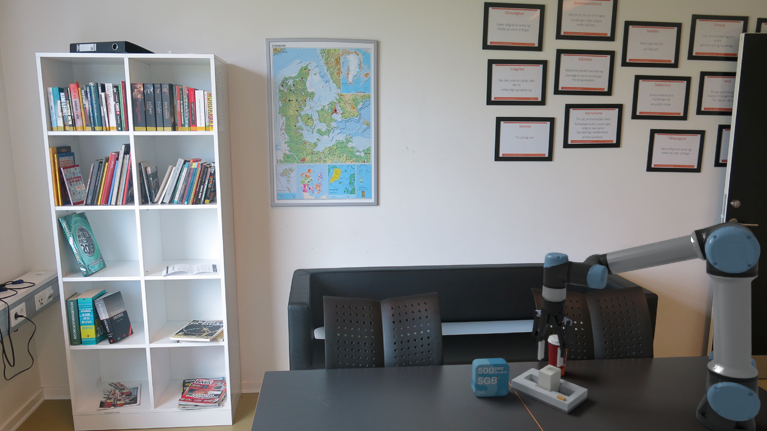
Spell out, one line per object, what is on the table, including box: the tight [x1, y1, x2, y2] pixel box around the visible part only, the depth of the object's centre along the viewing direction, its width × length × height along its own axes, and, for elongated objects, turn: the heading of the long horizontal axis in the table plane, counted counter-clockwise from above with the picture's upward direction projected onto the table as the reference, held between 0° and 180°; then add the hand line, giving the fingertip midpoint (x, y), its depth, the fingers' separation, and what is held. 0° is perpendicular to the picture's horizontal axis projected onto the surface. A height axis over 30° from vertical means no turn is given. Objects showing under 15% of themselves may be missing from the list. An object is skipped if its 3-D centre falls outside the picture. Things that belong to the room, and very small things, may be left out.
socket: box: [510, 367, 588, 415], centre depth 164 cm, size 21×14×4 cm, turn 42°
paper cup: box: [547, 334, 568, 377], centre depth 179 cm, size 8×8×14 cm
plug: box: [538, 364, 562, 392], centre depth 165 cm, size 10×4×8 cm, turn 132°
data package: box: [471, 357, 510, 398], centre depth 164 cm, size 12×4×12 cm, turn 94°
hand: (550, 361), depth 163 cm, fingers open, 6 cm apart
